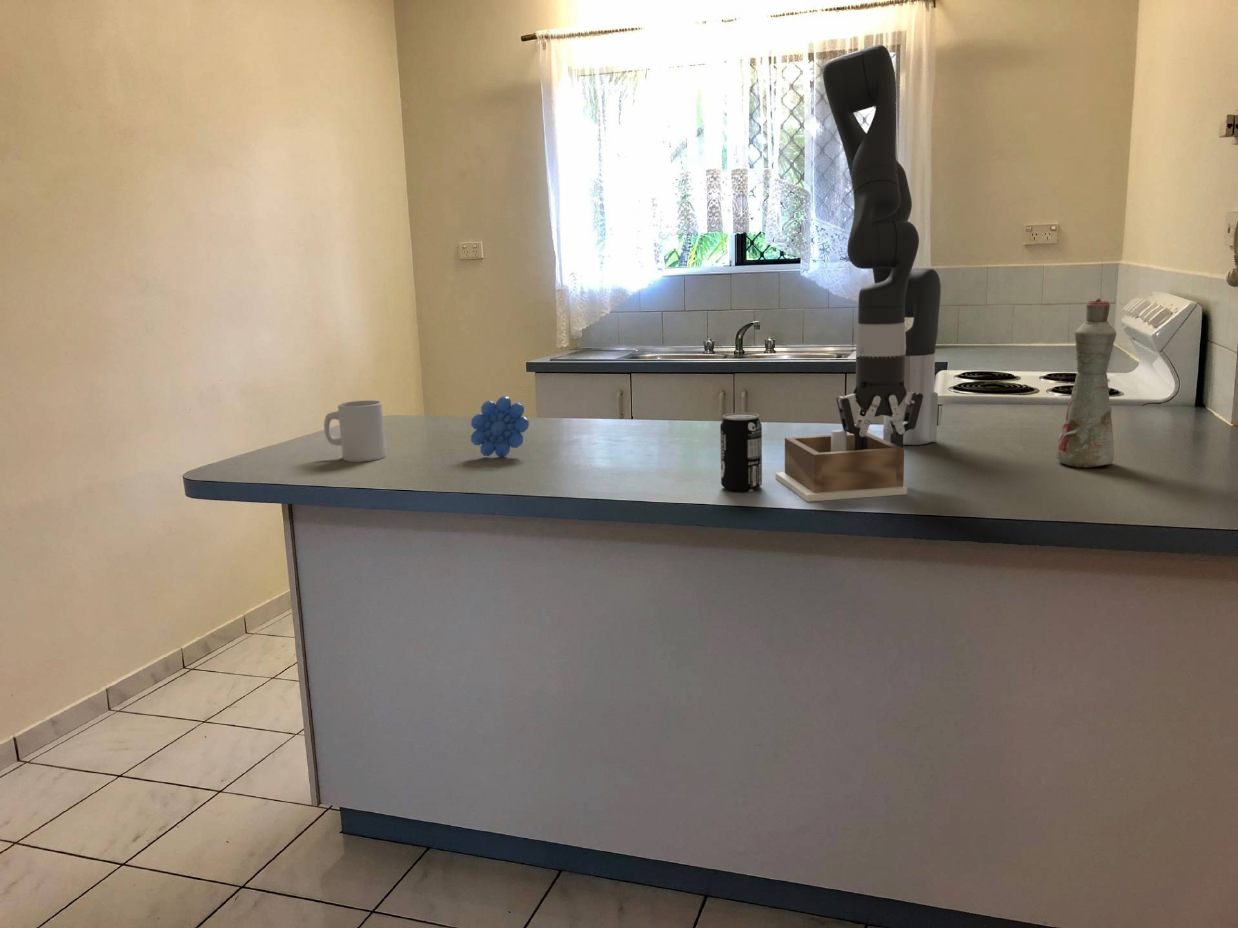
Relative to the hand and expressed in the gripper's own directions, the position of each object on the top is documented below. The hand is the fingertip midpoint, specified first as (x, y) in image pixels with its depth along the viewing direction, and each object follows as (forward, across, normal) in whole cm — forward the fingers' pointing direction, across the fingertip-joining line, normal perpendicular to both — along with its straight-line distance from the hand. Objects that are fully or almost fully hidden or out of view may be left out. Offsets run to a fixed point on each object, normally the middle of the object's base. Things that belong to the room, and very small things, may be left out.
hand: (878, 457), depth 153 cm
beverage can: (+5, +22, -3) cm, 23 cm away
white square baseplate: (+4, +7, 0) cm, 8 cm away
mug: (+4, +89, -50) cm, 102 cm away
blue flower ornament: (+4, +60, -42) cm, 73 cm away
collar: (+3, +6, 0) cm, 7 cm away
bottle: (+5, -38, -3) cm, 39 cm away
